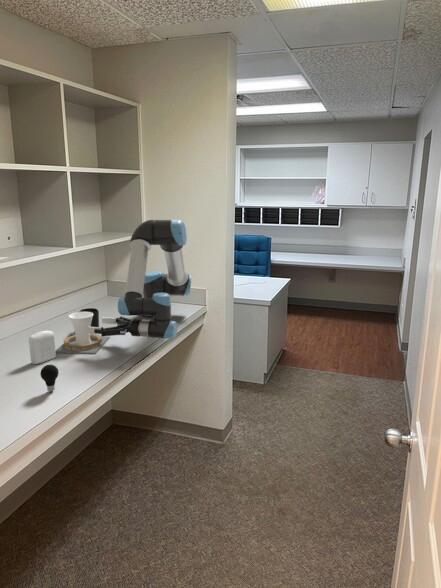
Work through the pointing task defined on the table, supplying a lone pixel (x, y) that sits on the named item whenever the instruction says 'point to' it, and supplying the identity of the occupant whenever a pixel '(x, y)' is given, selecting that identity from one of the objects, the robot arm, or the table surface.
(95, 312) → the pen holder
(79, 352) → the collar mat
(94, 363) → the table surface
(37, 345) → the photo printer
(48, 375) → the light bulb
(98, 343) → the collar ring
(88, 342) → the cup
